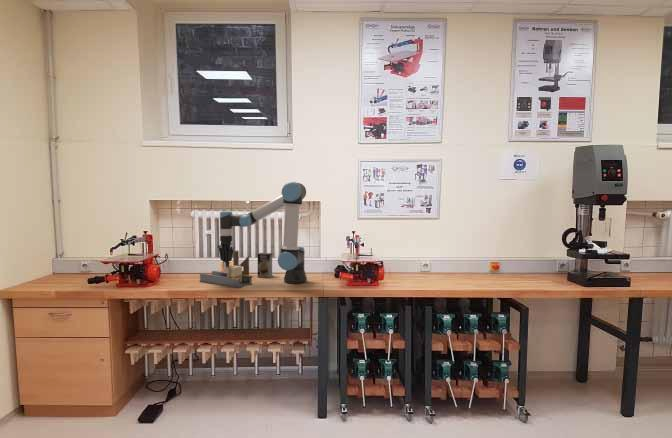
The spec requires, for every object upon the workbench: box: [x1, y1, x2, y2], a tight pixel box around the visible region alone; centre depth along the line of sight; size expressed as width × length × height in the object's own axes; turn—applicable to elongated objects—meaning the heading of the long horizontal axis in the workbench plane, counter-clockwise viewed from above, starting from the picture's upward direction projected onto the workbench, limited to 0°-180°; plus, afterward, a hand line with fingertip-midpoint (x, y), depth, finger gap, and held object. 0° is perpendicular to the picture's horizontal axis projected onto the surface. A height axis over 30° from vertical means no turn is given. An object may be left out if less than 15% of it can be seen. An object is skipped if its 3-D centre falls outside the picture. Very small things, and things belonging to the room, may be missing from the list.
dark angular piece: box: [232, 250, 250, 275], centre depth 257 cm, size 4×11×18 cm, turn 96°
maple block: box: [226, 265, 243, 282], centre depth 233 cm, size 6×7×10 cm
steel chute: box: [199, 270, 253, 289], centre depth 237 cm, size 34×12×5 cm, turn 60°
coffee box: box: [257, 252, 273, 278], centre depth 258 cm, size 9×6×16 cm
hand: (226, 271), depth 236 cm, fingers closed
